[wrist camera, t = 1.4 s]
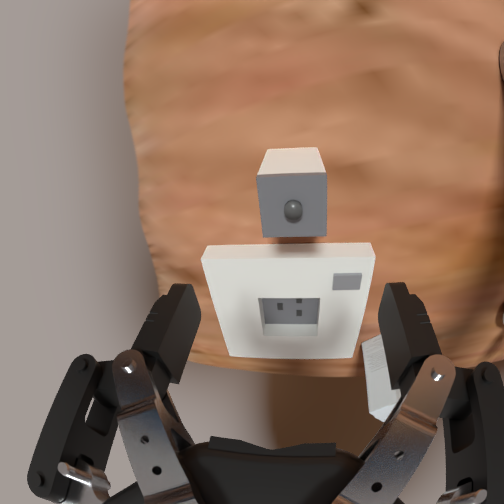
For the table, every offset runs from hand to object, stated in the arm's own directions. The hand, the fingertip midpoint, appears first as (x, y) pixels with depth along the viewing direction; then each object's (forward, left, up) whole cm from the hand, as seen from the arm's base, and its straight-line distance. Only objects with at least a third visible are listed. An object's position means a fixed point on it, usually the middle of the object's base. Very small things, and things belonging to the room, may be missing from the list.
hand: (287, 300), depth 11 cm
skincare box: (-13, +27, -17) cm, 34 cm away
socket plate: (+1, +17, -17) cm, 24 cm away
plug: (0, 0, -17) cm, 17 cm away
